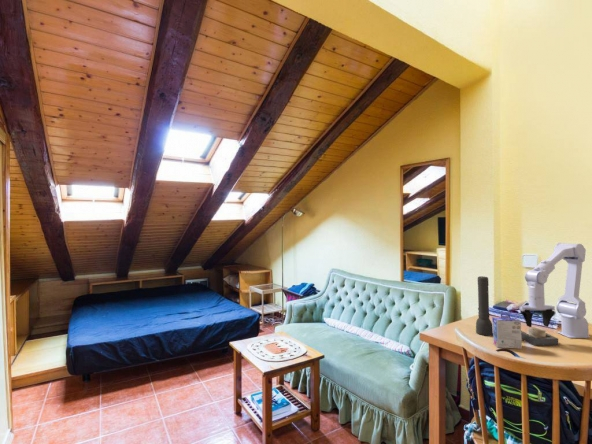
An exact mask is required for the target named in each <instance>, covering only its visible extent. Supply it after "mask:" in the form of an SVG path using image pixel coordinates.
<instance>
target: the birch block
mask: <svg viewBox="0 0 592 444" xmlns="http://www.w3.org/2000/svg"><path fill="white" fill-rule="evenodd" d="M546 333H547V332H546V330H545V329H543V328H541V327H538V326H536V327H532V326H531V327H528V334H529V335H531V336H533V337H535V338H544V337H546Z"/></svg>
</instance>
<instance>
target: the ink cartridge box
mask: <svg viewBox="0 0 592 444" xmlns="http://www.w3.org/2000/svg"><path fill="white" fill-rule="evenodd" d="M499 314H500V317H499V316H498V317H497V316H496V317H491V318H492V328H493V335H492V336H493V340H492V341H493V345H494V346H496V348H501V349H503V348H504V349H519V350H521V349H523V346H522V345H523V344H522V343H523V342H522V341H523V340H522V339H521V331H522V321H521V320H520V319H519V318H517V317H511V316H510V312H500V313H499Z"/></svg>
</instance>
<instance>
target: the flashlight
mask: <svg viewBox="0 0 592 444" xmlns="http://www.w3.org/2000/svg"><path fill="white" fill-rule="evenodd" d="M489 286H490V285H489V277H487V276H478V277H477V298H478V301H477V303H478V308H477V309H478V317H477V319H476V323H475V334H477V335H480V336H484V337H492V336H493V321H491V319H490V302H489V301H490V300H489V298H490V297H489V293H490V292H489Z"/></svg>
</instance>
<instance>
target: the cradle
mask: <svg viewBox="0 0 592 444" xmlns="http://www.w3.org/2000/svg"><path fill="white" fill-rule="evenodd" d="M545 333H546V337H544V338H535V337H533V336H531V335H529V333H527V332H524V331H523V330H521V340H522V339H523V340H522V341H524V340H525V342H527V343H529V344H531V345H532V346H535V347H539V346H540V347H545V346H546V347H548V346H549V347H551V346H552V347H553V346H559V338H558V337H556V336H554V335H551V334H549V333H547V332H545Z"/></svg>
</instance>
